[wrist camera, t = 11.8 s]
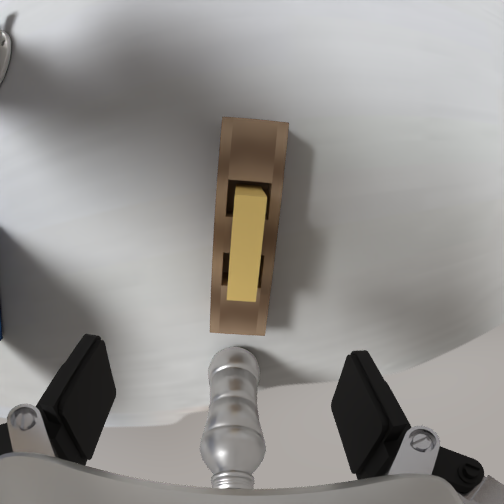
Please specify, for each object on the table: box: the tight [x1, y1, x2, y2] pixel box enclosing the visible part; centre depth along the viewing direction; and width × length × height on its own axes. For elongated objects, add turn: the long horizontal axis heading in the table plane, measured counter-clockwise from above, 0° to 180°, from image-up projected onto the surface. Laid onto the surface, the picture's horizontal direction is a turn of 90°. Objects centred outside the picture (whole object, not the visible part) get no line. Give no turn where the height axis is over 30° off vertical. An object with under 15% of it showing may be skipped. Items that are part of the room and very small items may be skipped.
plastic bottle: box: [200, 347, 266, 489], centre depth 29 cm, size 6×7×20 cm
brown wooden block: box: [210, 117, 289, 336], centre depth 31 cm, size 22×6×4 cm, turn 175°
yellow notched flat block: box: [227, 184, 267, 302], centre depth 28 cm, size 9×2×8 cm, turn 175°
